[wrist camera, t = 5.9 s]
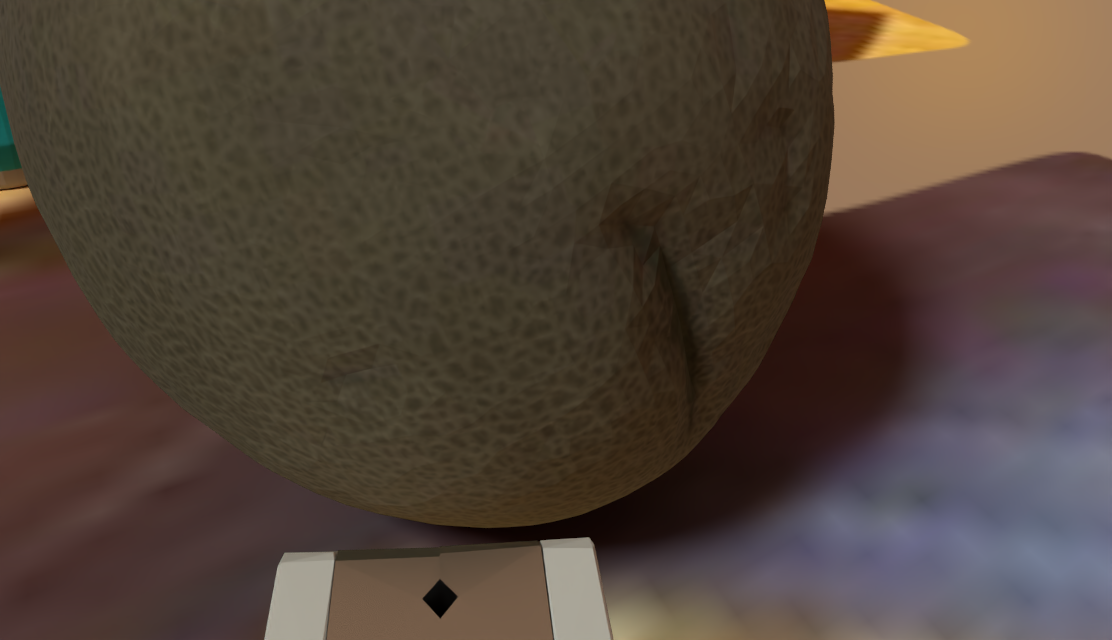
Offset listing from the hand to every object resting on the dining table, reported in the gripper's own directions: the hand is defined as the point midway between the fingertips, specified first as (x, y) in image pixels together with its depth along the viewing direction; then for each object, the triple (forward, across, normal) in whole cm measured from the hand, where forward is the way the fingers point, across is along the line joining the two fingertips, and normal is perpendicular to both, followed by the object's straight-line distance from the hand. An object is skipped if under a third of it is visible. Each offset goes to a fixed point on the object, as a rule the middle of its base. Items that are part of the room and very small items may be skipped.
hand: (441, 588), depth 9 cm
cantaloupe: (+10, 0, +7) cm, 12 cm away
